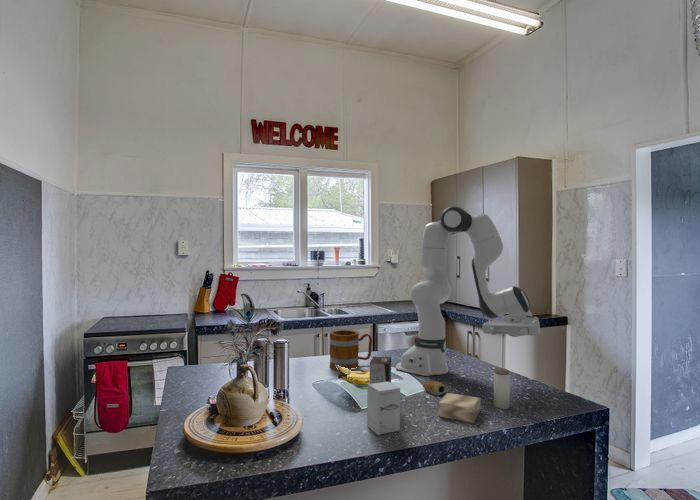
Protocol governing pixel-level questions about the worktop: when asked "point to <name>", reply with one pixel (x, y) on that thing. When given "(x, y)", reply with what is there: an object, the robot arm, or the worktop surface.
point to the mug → (346, 348)
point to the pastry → (435, 388)
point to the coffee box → (380, 370)
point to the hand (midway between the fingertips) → (506, 332)
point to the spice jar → (502, 388)
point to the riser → (459, 407)
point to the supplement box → (383, 407)
